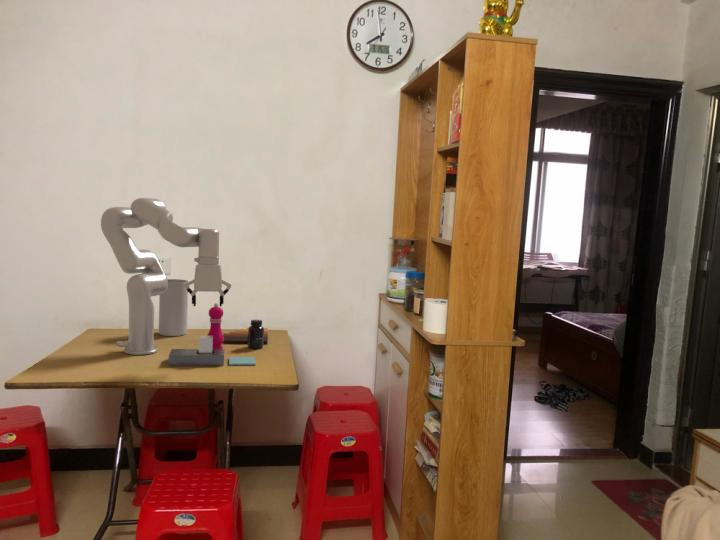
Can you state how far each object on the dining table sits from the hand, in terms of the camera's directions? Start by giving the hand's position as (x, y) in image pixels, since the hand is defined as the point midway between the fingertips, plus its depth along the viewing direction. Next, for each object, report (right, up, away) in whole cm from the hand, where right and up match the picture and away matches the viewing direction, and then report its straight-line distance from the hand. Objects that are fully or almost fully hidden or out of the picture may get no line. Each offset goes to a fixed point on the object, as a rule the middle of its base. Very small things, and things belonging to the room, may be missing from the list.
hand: (207, 305), depth 222 cm
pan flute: (+2, -19, +48) cm, 52 cm away
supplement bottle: (+13, -20, +31) cm, 39 cm away
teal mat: (+12, -22, +5) cm, 26 cm away
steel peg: (-2, -22, +2) cm, 22 cm away
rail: (-4, -22, +1) cm, 22 cm away
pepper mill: (-3, -20, +22) cm, 30 cm away
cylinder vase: (-29, -16, +49) cm, 59 cm away
